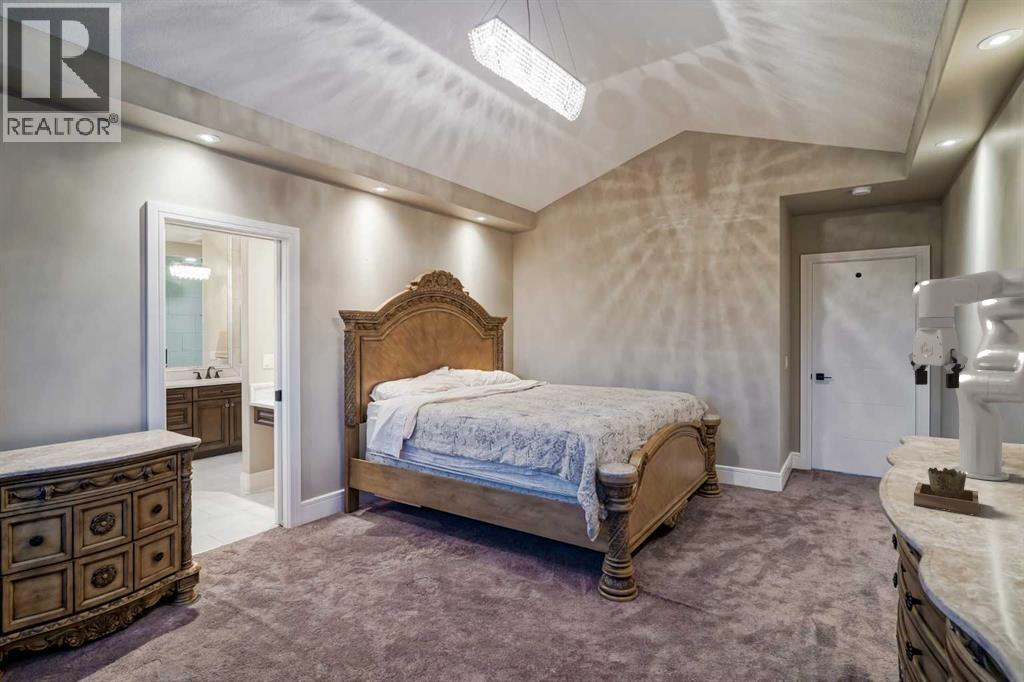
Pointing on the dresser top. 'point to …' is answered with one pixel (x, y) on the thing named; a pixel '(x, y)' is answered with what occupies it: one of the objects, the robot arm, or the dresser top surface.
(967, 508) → the box
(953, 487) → the olive round vessel
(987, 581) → the dresser top surface
